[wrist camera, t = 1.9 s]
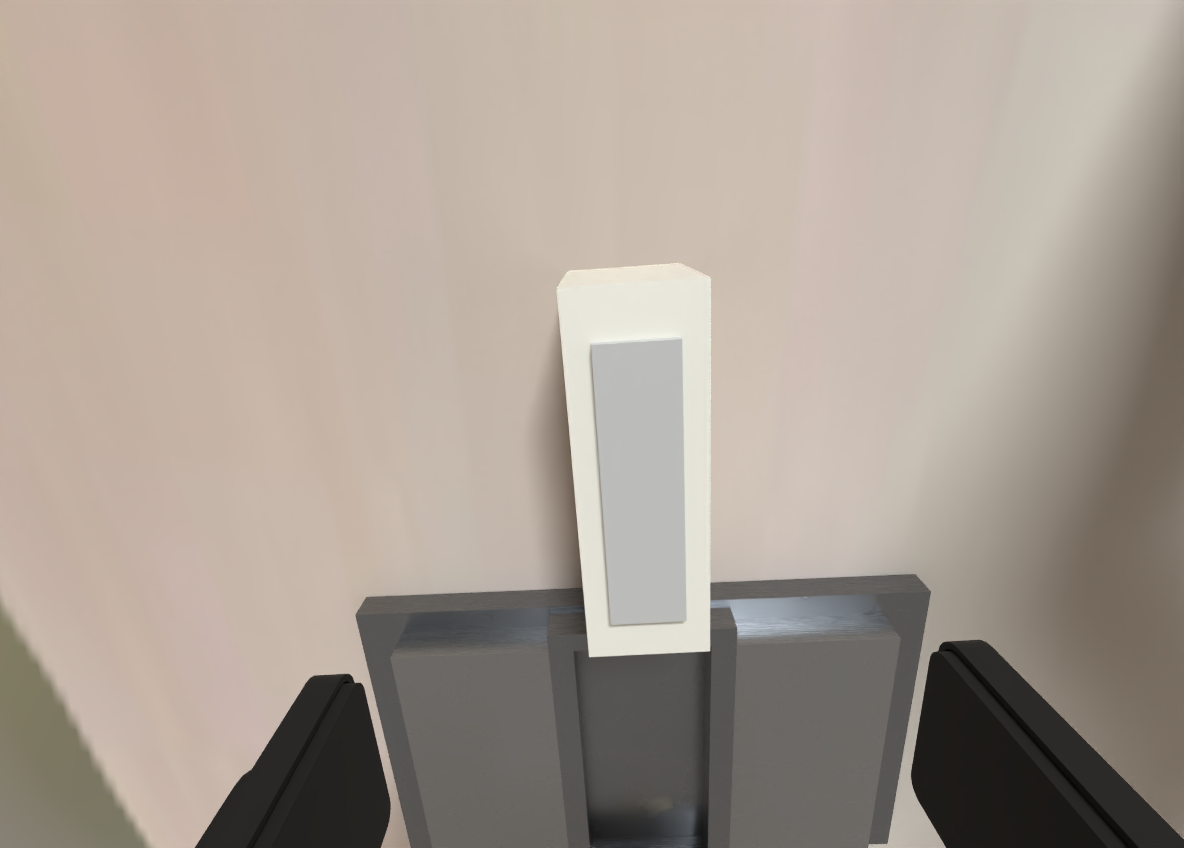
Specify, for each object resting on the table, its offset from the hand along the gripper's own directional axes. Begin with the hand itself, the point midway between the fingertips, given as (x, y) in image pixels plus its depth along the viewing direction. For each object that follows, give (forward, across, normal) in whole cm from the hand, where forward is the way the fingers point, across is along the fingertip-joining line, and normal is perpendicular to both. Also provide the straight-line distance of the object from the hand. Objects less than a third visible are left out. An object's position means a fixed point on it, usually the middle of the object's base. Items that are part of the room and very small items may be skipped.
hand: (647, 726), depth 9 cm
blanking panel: (+14, -1, -1) cm, 14 cm away
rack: (+14, -1, +14) cm, 20 cm away
